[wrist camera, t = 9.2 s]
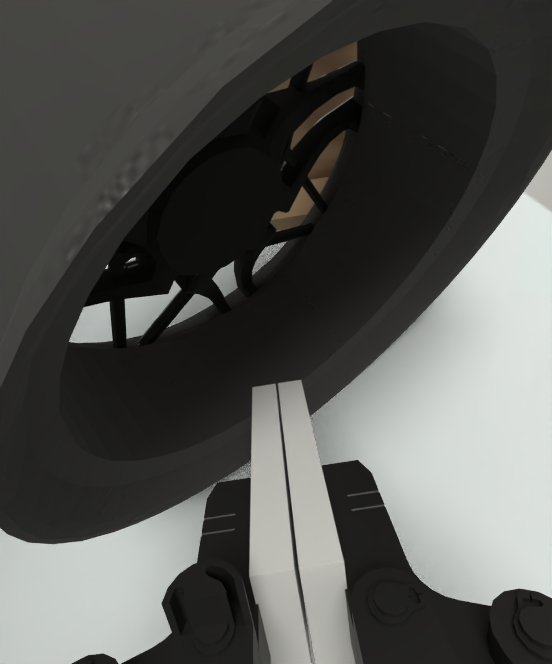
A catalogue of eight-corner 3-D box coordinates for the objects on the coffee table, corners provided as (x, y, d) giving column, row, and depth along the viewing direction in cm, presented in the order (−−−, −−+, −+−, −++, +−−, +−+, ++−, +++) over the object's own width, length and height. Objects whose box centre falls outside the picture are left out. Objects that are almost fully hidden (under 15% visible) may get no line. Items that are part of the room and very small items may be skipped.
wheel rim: (345, 216, 27) (425, -356, 9) (445, 304, 24) (881, -316, 6) (95, 393, 23) (-653, -11, 5) (176, 527, 20) (-1106, 744, 2)
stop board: (115, 256, 27) (-49, 38, 15) (118, 182, 30) (-18, -53, 18) (368, 216, 27) (424, -38, 15) (346, 146, 30) (377, -117, 17)
